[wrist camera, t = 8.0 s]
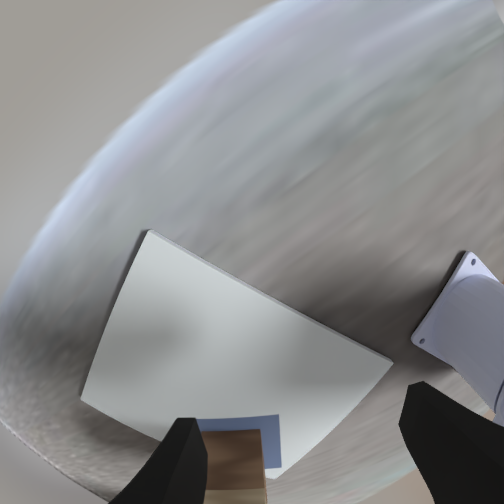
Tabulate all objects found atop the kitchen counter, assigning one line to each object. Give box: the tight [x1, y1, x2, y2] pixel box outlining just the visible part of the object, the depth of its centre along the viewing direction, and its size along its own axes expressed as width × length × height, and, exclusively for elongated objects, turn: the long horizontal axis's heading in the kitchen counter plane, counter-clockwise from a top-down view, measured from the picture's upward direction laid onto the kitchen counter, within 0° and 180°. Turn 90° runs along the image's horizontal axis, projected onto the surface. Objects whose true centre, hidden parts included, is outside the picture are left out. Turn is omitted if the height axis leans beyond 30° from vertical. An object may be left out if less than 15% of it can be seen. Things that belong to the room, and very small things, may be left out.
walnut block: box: [201, 429, 267, 503], centre depth 18 cm, size 5×5×6 cm
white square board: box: [80, 229, 394, 479], centre depth 20 cm, size 19×18×1 cm
